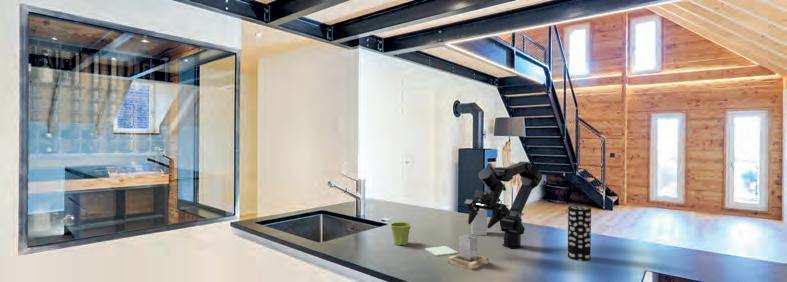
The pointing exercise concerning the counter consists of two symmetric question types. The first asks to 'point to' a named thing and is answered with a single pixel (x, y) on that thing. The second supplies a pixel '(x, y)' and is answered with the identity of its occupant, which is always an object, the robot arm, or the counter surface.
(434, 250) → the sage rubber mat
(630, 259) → the counter surface
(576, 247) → the white-spotted black cylinder
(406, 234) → the plant pot
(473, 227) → the supplement box
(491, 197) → the robot arm
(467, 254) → the steel cap block
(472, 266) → the oak socket frame
